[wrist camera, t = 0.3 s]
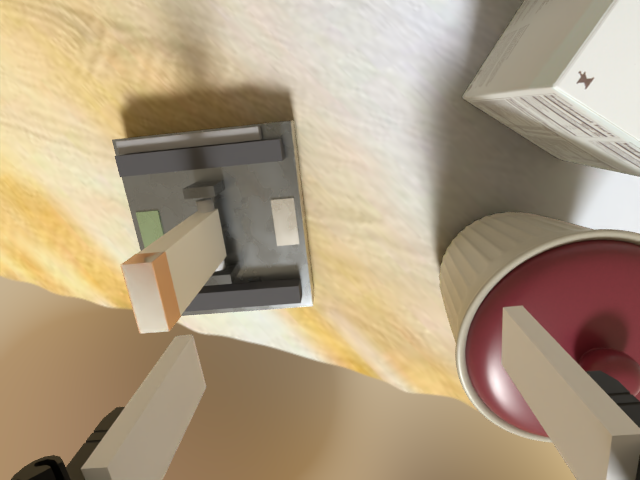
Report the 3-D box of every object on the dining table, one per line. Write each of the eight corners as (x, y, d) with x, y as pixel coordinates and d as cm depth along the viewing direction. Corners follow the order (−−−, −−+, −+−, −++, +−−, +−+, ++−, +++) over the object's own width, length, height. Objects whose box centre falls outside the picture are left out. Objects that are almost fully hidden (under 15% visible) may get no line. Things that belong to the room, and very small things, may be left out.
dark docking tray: (122, 140, 39) (111, 142, 37) (280, 124, 38) (277, 124, 36) (163, 305, 44) (155, 313, 42) (302, 294, 43) (300, 303, 41)
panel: (127, 138, 42) (90, 142, 35) (293, 120, 40) (285, 121, 34) (168, 305, 48) (143, 333, 41) (314, 294, 46) (310, 322, 40)
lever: (196, 198, 38) (115, 248, 24) (217, 196, 38) (148, 246, 24) (210, 266, 41) (143, 347, 27) (229, 264, 41) (173, 345, 26)
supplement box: (562, 164, 41) (718, 199, 24) (458, 98, 39) (548, 87, 22) (656, 41, 37) (921, -18, 20) (545, -38, 35) (732, -172, 19)
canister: (382, 271, 45) (418, 397, 25) (502, 150, 40) (665, 188, 20) (488, 360, 48) (596, 535, 28) (611, 258, 44) (845, 381, 24)
